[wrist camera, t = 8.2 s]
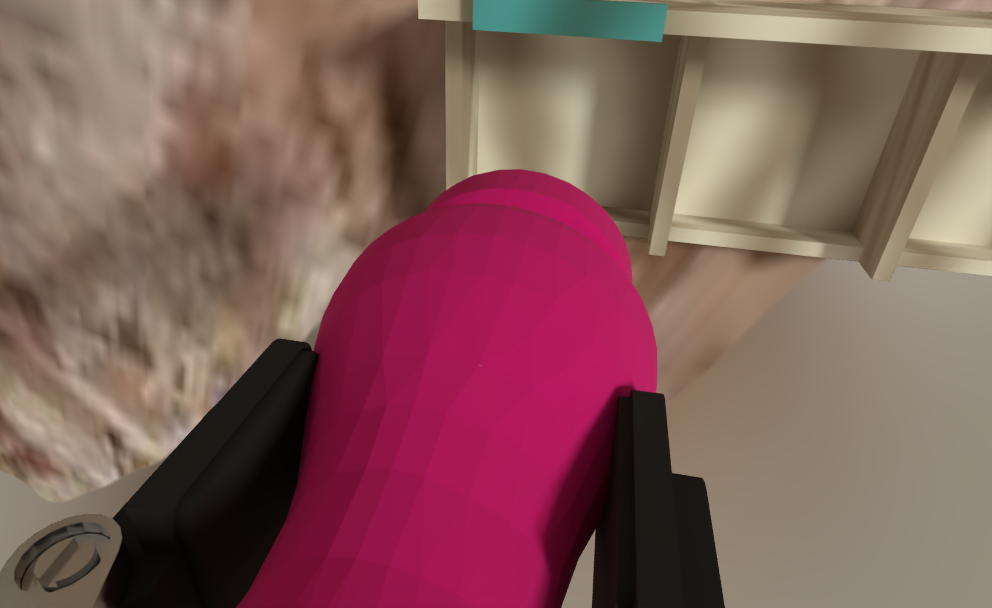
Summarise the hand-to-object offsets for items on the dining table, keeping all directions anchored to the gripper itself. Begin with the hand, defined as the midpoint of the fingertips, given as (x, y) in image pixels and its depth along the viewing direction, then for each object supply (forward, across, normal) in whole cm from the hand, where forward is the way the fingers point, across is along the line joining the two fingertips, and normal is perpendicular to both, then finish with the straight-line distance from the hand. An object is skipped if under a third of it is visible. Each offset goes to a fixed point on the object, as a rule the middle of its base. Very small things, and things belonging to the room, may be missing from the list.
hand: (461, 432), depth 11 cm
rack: (+25, -11, 0) cm, 28 cm away
